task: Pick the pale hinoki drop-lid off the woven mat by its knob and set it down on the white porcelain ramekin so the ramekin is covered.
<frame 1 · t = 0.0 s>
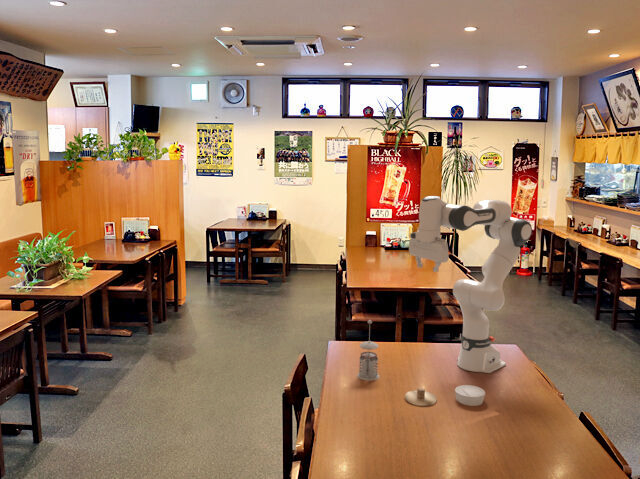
hand: (427, 269, 231), 48 cm above the table, fingers open, 8 cm apart
drop lid: (420, 399, 217), point 1 cm above the table, touching woven mat
ramekin: (469, 404, 217), on the table
woven mat: (420, 404, 217), on the table, touching drop lid
french press: (367, 377, 241), on the table
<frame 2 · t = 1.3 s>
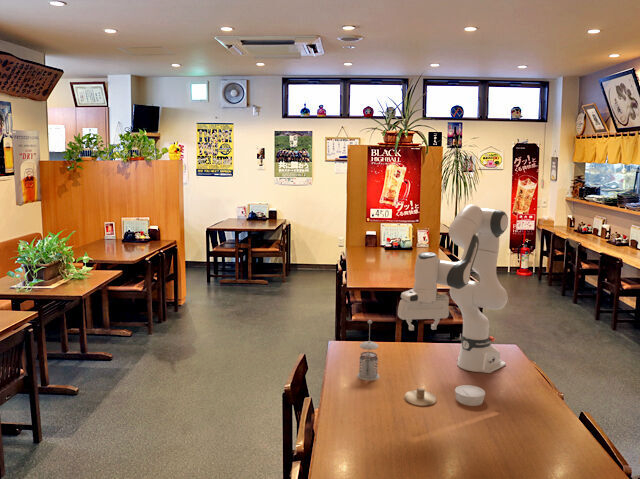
hand: (422, 329, 218), 28 cm above the table, fingers open, 8 cm apart
nothing on the table moved.
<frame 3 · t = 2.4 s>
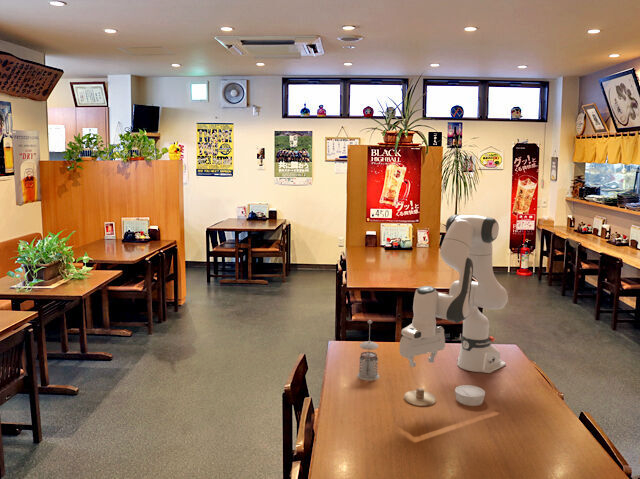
hand: (421, 364, 214), 16 cm above the table, fingers open, 8 cm apart
nothing on the table moved.
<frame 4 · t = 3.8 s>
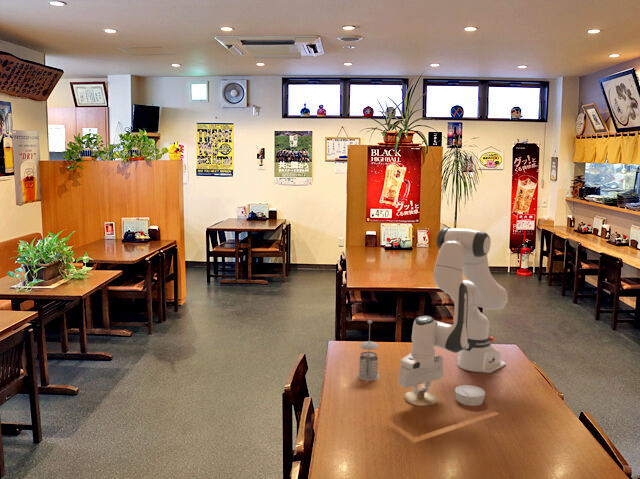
hand: (420, 393, 217), 4 cm above the table, fingers closed on drop lid, 3 cm apart
drop lid: (420, 399, 217), point 1 cm above the table, touching gripper
woven mat: (420, 404, 217), on the table
everything else where it was.
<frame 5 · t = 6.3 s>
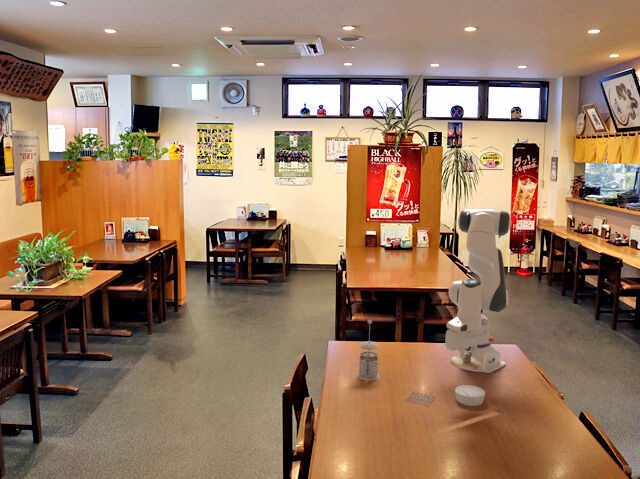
hand: (467, 356, 214), 19 cm above the table, fingers closed on drop lid, 3 cm apart
drop lid: (466, 363, 215), point 16 cm above the table, touching gripper
everything else where it was.
when the fingers open (8 cm above the table, at t = 8.8 s): drop lid stays where it is, resting on ramekin.
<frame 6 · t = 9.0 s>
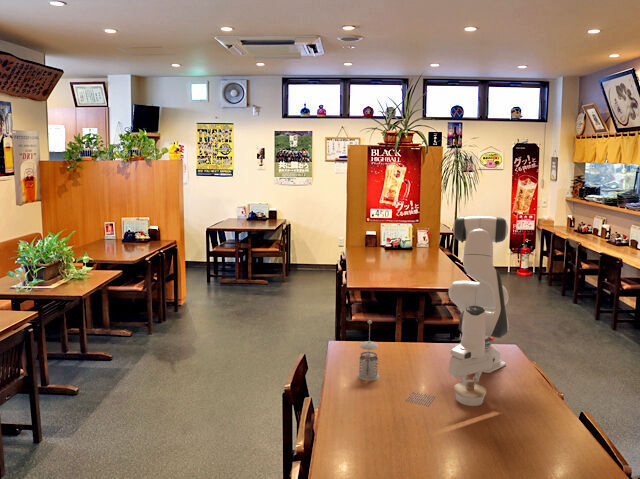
hand: (470, 383, 216), 8 cm above the table, fingers open, 4 cm apart
drop lid: (470, 390, 216), point 5 cm above the table, touching ramekin
ramekin: (469, 404, 217), on the table, touching drop lid
everything else where it was.
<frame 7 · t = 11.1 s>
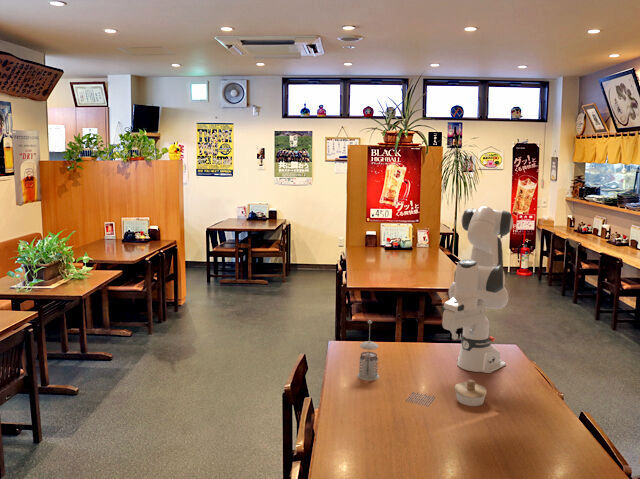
hand: (463, 336, 218), 25 cm above the table, fingers open, 8 cm apart
nothing on the table moved.
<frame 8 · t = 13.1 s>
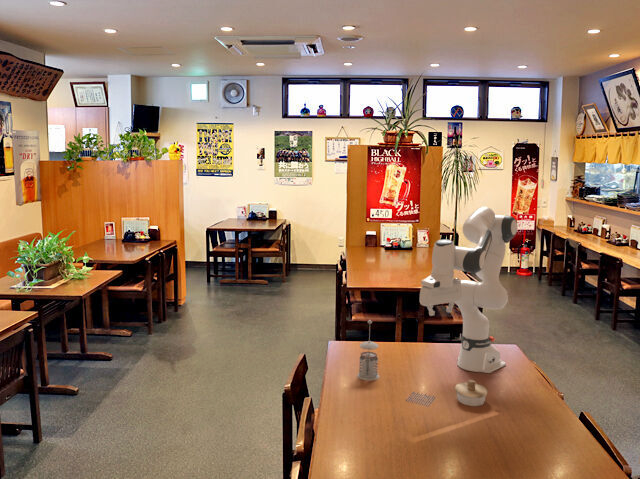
hand: (440, 313, 227), 31 cm above the table, fingers open, 8 cm apart
nothing on the table moved.
at the end: drop lid 0.1 cm from the ramekin (horizontally); drop lid point 5.1 cm above the table; drop lid tilted 0° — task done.
